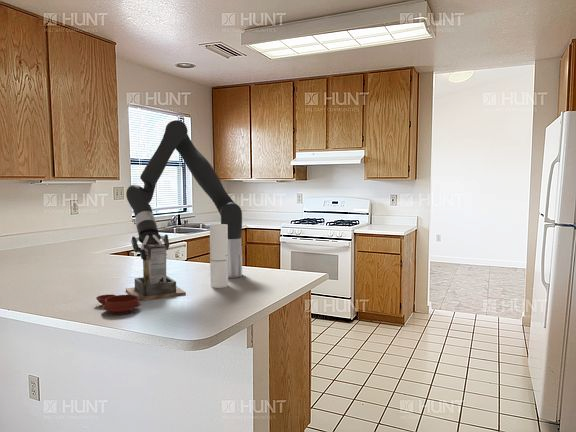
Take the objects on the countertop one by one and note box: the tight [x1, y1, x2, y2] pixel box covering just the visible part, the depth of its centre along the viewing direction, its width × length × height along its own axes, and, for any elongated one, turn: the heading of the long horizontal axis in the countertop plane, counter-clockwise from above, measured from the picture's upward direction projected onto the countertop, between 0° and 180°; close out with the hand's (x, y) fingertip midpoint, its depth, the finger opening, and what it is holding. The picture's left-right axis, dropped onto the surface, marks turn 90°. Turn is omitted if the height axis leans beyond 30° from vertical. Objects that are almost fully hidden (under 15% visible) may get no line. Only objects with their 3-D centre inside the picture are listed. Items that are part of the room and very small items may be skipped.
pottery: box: [95, 294, 142, 315], centre depth 143 cm, size 12×20×4 cm, turn 48°
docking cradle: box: [125, 275, 187, 302], centre depth 164 cm, size 18×18×5 cm
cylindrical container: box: [209, 223, 229, 289], centre depth 175 cm, size 7×7×25 cm
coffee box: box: [142, 243, 167, 285], centre depth 164 cm, size 9×6×16 cm
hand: (154, 258), depth 163 cm, fingers closed on coffee box, 6 cm apart
